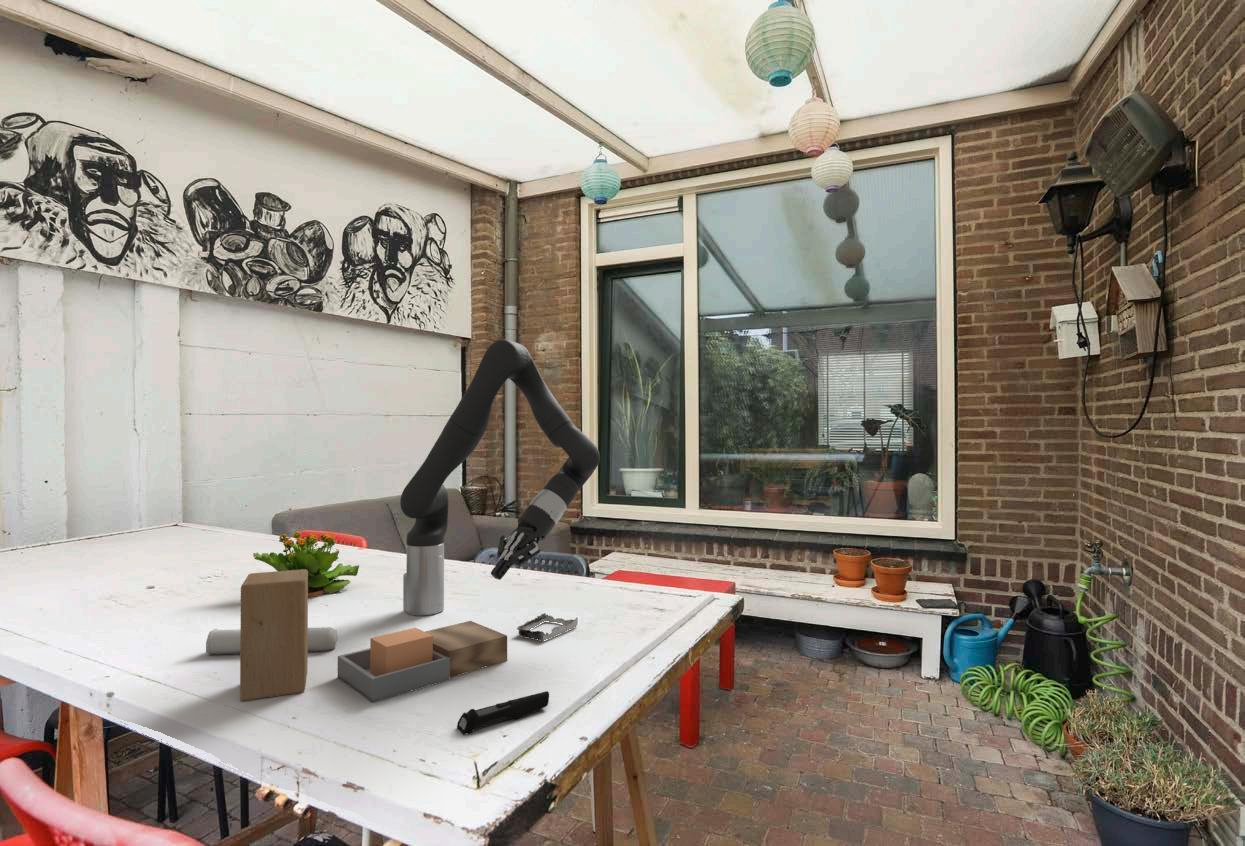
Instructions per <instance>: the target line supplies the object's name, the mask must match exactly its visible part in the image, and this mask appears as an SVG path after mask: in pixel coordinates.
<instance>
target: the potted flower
mask: <svg viewBox="0 0 1245 846" xmlns="http://www.w3.org/2000/svg"><path fill="white" fill-rule="evenodd" d="M300 533H301V532H300V531H299V530H298V531H295V532H294V533H293V535H292V537H293V538H294V539H295V540H293V539H291V536H288V534H287V533H284V534H280V535H279V540H278V542H279V543H282V545H283V546H284V549H283V550H282V552H279V553H278V554H277V553H276V552H270V553H268V552H267V553H266V552H262V553H261V554H260V552H253V553H252V556H253V558H254V559H255V560H256V561H259V562H263V563H265V564H266V565H269V566H271V567H272V568H273V569H274V570H275V571H289V570H302V569H306V570H307V571H308V599H309V598H315V597H318V596H319V597H320V596H322V595H323V594H324V593H326V594H331V593H332V594H335V593H336V592H341V590H343V589H345V587H347V586H348V585H349V584H351V582H352V581H351V580H349V579H340V578H339V577H342V576H344V577H345V576H348V577H349V576H353V577H356V576H357V575H358V573H359V569H360V565H359V564H358V565H353V566H352V565H351V564H348V565H343V563H342V562H341V563H338V564H337V565H336V566H335V568H333V569H332V570H330V569H331V568H332V567H333V563H334V562H336V561H337V560H338V559H339V554H340V550H339V549H337V550H336V551H333V552H331V550H332V548H333V547H334V546H335V544H336V543H335V541H336V539H335V538H336V537H335V536H336V535H334V534H332V533H330V534H326V533H324V534H320V535H319V536H318V535H317V534H314V533H309V534H306V535H305V536H306V537H305V538H301V536H302V534H300ZM287 536H288V537H287ZM318 538H320V540H321V541H323V545H322V546H321V547H320V546H319V545H318ZM317 546H319V547H318V548H316V547H317ZM325 550H326V551H325ZM288 552H289V553H288ZM284 553H285V554H284Z"/></svg>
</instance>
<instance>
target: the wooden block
mask: <svg viewBox="0 0 1245 846" xmlns="http://www.w3.org/2000/svg"><path fill="white" fill-rule="evenodd" d="M308 606H309V598H308V571H307V570H306V569H302V570H289V571H277V570H275V571H266V572H265V571H264V572H255V573H254V572H253V573H249V574H248V575H247V576H246V578H245V579H244V581H243V582H242V584H241V586H240V654H239V655H240V656H239V657H240V659H239V661H240V662H239V663H240V666H239V674H240V675H239V678H240V679H239V683H240V684H239V692H240V693H239V700H240V701H243V702H246V701H252V700H259V699H266V698H274V697H279V696H280V697H281V696H286V695H287V696H288V695H294V694H301V693H303V692H305V690H306V686H307V685H306V684H307V676H308V662H309V661H308V658H309V657H308V652H309V651H308V628H309V624H308V623H309V619H308V617H309V614H308V613H309V607H308Z"/></svg>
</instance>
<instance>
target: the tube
mask: <svg viewBox="0 0 1245 846" xmlns="http://www.w3.org/2000/svg"><path fill="white" fill-rule="evenodd" d="M240 629H241V628H240ZM240 629H238V628H237V629H218V628H214V629H212V630H211V631H209V633H208V635H207V638H206V642H205V653H206V654H207V655H208V656H213V655H236V654H237V655H240ZM338 640H339V637H338V631H337V629H335V628H333V627H330V626H329V627H325V626H324V627H322V626H321V627H308V652H328V651H331V650H333V649H335V648H336V645H337V643H338Z"/></svg>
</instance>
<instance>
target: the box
mask: <svg viewBox="0 0 1245 846" xmlns="http://www.w3.org/2000/svg"><path fill="white" fill-rule="evenodd" d="M337 679H340V681H342V682H344V684H346V685H347V686H349V687H350V688H351V689H353V690H354V691H356V692H357V693H359V694H360V695H361V696H362V697H364V698H365V699H366V700H368V701H369V702H370V703H372V704H373V703H376V702H379V701H383V700H386V698H387V699H389V697H390V698H393V697H397V696H400V695H403V694H406V692H407V693H409V691H410V692H412V691H411V690H413V691H415V689H417V690H419V688H420V689H423V688H427V687H429V686H428V685H430V686H433V685H436V684H439V682H440V683H443V682H445V681H450V680H449V679H451V677H450V658H449V657H447V656H445V655H443V654H441V653H439V652H437V651H435V650H433V661H431V662H427V663H423V664H420V665H416V666H412V667H409V668H405V669H401V670H398V671H394V672H390V673H387V674H383V675H379V676H376V677H375V676H373V675H372V674H370V647H369V648H365V649H360V650H357V651H352V652H348V653H344V654H339V655H337ZM442 681H443V682H442ZM435 683H436V684H435ZM432 684H433V685H432ZM426 686H427V687H426ZM422 687H423V688H422ZM402 693H403V694H402ZM399 694H400V695H399ZM396 695H397V696H396Z"/></svg>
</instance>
